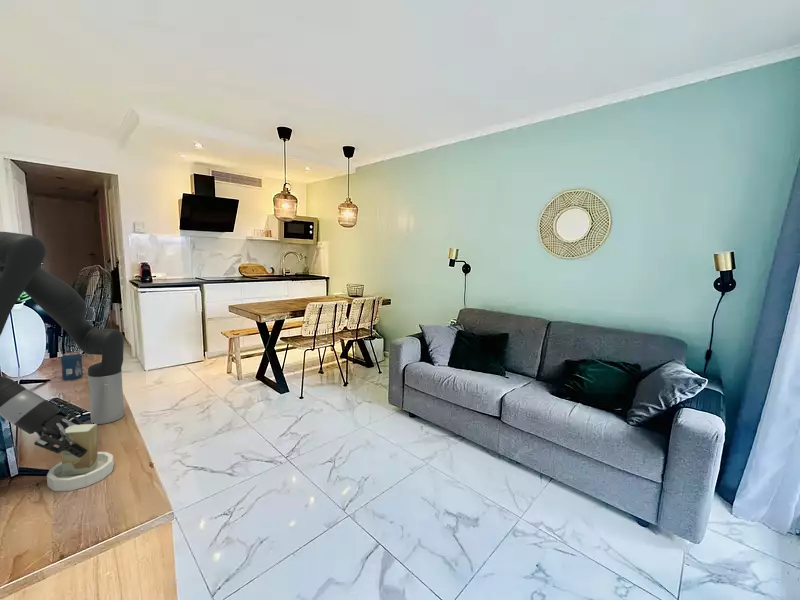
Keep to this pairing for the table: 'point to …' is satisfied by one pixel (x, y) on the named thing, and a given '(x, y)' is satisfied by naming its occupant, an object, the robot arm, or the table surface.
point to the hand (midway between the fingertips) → (88, 449)
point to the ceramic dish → (80, 475)
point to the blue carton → (71, 366)
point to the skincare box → (86, 439)
